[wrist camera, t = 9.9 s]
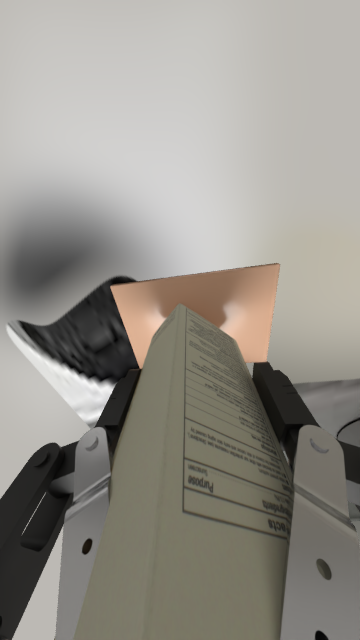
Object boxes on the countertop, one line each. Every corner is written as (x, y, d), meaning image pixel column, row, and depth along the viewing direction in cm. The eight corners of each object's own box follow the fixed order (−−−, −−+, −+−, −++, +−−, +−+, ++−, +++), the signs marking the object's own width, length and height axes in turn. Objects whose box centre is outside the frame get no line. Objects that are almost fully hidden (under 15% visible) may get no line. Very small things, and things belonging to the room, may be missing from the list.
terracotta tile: (277, 262, 13) (280, 264, 12) (264, 358, 18) (266, 361, 17) (112, 284, 15) (110, 286, 14) (141, 365, 19) (140, 368, 19)
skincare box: (151, 336, 14) (25, 659, 4) (179, 299, 12) (99, 749, 2) (207, 370, 16) (239, 666, 5) (240, 342, 14) (402, 719, 3)
